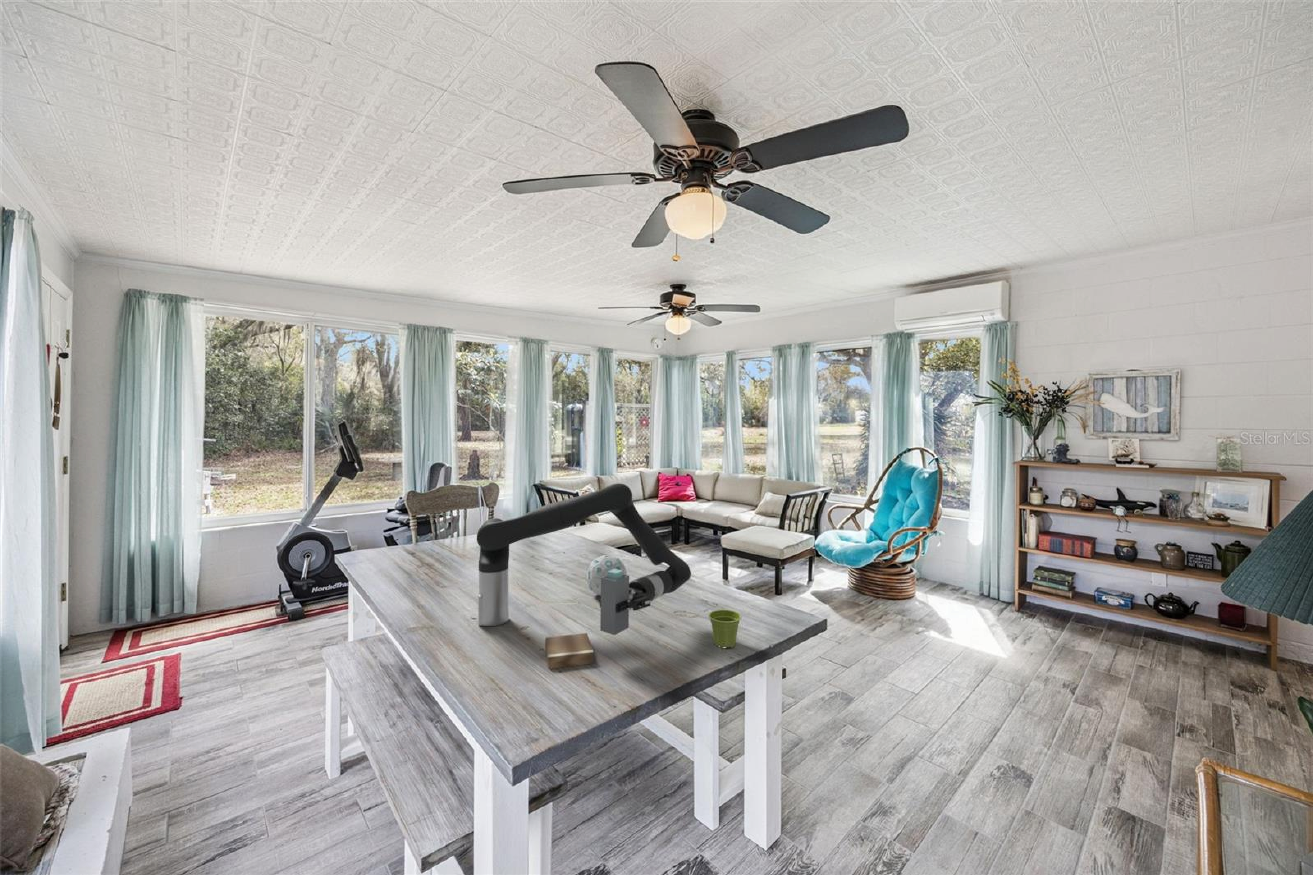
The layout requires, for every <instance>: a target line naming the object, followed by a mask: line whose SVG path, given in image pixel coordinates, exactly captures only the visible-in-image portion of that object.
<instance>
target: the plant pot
mask: <svg viewBox="0 0 1313 875" xmlns="http://www.w3.org/2000/svg"><path fill="white" fill-rule="evenodd" d="M708 617H709V621H710V623H711V628H712V634H713V642H714V645H715V646H716V647H717V646H720V647H728V648H729V647H732V648H734V647H735V646H736V644H737V636H738V629H739V624H740V621H741V619H742V615H741V614H740V613H739V612H737V611H734V610H729V609H717V610H712V611H711V612H710V613H709V614H708ZM733 646H734V647H733Z"/></svg>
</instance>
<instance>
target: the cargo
mask: <svg viewBox="0 0 1313 875" xmlns="http://www.w3.org/2000/svg"><path fill="white" fill-rule="evenodd" d="M622 577H623V571H622V570H618V569H613V570H610V571H607V578H608V579H612V580H617V579H620V578H622Z"/></svg>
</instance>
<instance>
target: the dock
mask: <svg viewBox="0 0 1313 875" xmlns="http://www.w3.org/2000/svg"><path fill="white" fill-rule="evenodd" d="M588 635H589V634H588V633H587V632H585V633H576V634H567V635H566V634H565V635H557V636H547V637H545V640H544V641H545V646H544V647H545V654H546V660H547V663H546V664H547V668H548V670H550V669H558V668H565V667H566V668H567V667H568V668H569V667H575V666H581V665H582V666H583V665H591V664H594V661H595V659H594V657H595V656H594V655H595V653H594V652H595V651H594V650H593V647H592V644H591V641H590V638H589V636H588Z"/></svg>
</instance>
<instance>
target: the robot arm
mask: <svg viewBox="0 0 1313 875" xmlns="http://www.w3.org/2000/svg"><path fill="white" fill-rule="evenodd" d="M605 512H610V513H611V514H613V516H615V517H616V518H617V519H618V521H620V522H621V524H623V525H624V527H625V528H626V529H627V530H628V531H629V533H630V534H631V535H632V537H633V538H634V540H635V541H636V543H638V545H639V547H640V548H641V550H642V551H643V553H644V554H645V555H646V556H647V558H648V559H649V560H650V562H651V563H652V564H653V565H654V566H659V565H661V564H663V563H664V564H666V565H667V566H668V567H667V568H666V569H665V570H659V571H655V572H653V573H651V574H646V575H644V576H641V577H639V578H636V579H634V580H632V581H629V598H628V599H627V600H626V601H622V602H620V603H618V604H616V612H617V613H619V612H621V611H624V610H626V609H627V610H631V609H632V610H633V611H639V610H642V609H645V608H648V607H650V606H651V602H653V601H655V600H657V599H658V598H660V597H661V596H664V595H665V594H670V593H673V592H676V590H678V589H679V588H680V587H681V586H683V585H684V584H685V583H686V582H688V581H689V580H690V578H691V575H692V571H691V568H690V566H689V564H688V563H687V562H686V561H685V560H683V559H682V558H680V557H679V556H678V555H677V554H676V553H674V552H673V551H672V550H670V548H669V547H668V546H667V544H666V543H665V542H664V540H663V539H662V538H661V536H660V535H659V534H658V533H657V532H656V531H655V530H654V529H653V528H652V527H651V526H650V525H649V524H648V523H647V522H646V521H645V520H644V519H643V517H642V516H641V514H640V513H639V511H638V509H637V508H636V506H635V504H634V502H633V493H632V490H631V488H630V487H629V486H628V485H626V484H624V483H614V484H613V483H612V484H611V485H608V486H605V487H603V488H601V489H600V488H599V489H598V490H595V491H593V492H590V493H586V494H582V495H577V496H575V497H570V498H568V499H567V498H565V499H563V500H558V501H555V502H552V503H547V504H545V505H542V506H539V507H537V508H535V509H533V510H531V511H529V512H527V513H525V514H523V515H521V516H517V517H514V518H509V519H506V520H503V519H501V518H498V517H497V518H496V517H493V518H490V519H487V520H486V521H484V522H483V524H482V525H481V526H480V528H479V529H478V531H477V534H476V542H477V544H478V546H479V547H480V548H479V559H478V599H477V600H478V602H477V604H478V610H477V611H478V626H485V627H496V626H500V625H503V624H505V623H508V621H509V619H510V616H509V610H510V609H509V607H510V606H509V605H510V604H509V603H510V602H509V599H510V598H509V561H510V560H509V559H510V545H511V544H512V545H513V544H515V543H517V542H519V541H523V540H525V539H529V538H533V537H539V536H543V535H548V534H550V533H555V532H558V531H562V530H565V529H568V528H571V527H573V526H575V525H577V524H579V523H581V522H583V521H584V520H586V519H588V518H589V517H590V518H591V516H594V515H597V514H601V513H602V514H603V513H605ZM599 608H600V609H601V599H600V600H599Z"/></svg>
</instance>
